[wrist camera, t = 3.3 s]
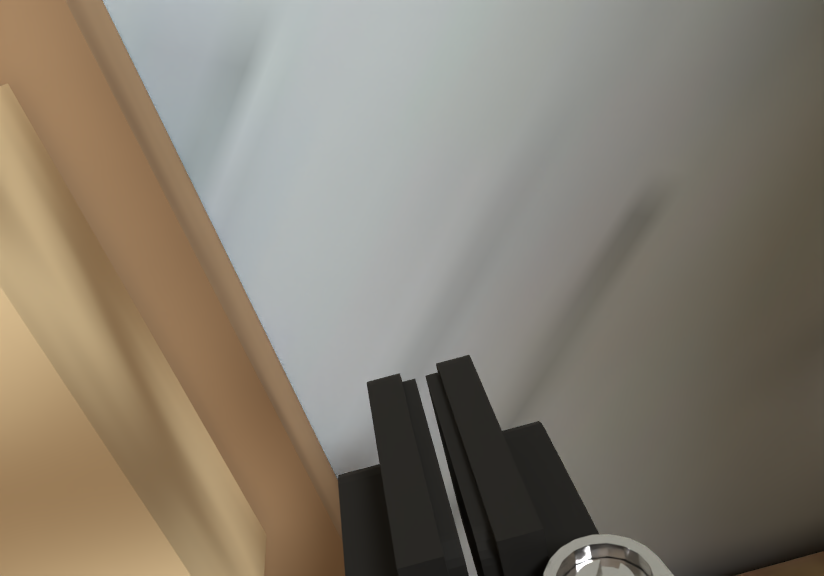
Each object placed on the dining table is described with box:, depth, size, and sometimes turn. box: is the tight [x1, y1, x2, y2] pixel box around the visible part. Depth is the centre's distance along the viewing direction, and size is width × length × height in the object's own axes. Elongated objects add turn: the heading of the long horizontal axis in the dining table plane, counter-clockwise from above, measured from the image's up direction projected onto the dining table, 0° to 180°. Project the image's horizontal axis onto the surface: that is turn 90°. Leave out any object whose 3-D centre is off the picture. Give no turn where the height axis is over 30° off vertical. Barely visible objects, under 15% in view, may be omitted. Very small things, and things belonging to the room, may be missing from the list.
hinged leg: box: [0, 84, 267, 576], centre depth 12 cm, size 10×3×3 cm, turn 19°
